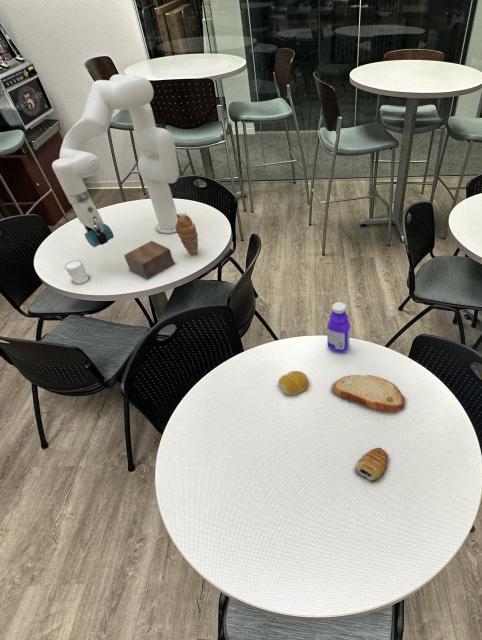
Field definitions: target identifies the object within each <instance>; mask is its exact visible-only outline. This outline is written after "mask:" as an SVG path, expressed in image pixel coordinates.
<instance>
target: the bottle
mask: <svg viewBox="0 0 482 640" xmlns="http://www.w3.org/2000/svg"><path fill="white" fill-rule="evenodd" d="M331 307H332V308H331V309H332V311H331V313H330V314H329V320H328V322H327V325H326V326H327V327H326V328H327V329H326V331H327V347H328V349H329V350H330V351H333V352H335V353H340V354H341V353H342V354H343V353H345V352H347V350H348V348H349V347H350V339H351V337H350V336H351V323H350V321H349V316H348V314H347V312H346V310H347V306H346V304H345V303H343V302H335V303H333V304H332V306H331Z"/></svg>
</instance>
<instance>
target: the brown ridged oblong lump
mask: <svg viewBox="0 0 482 640" xmlns="http://www.w3.org/2000/svg"><path fill="white" fill-rule="evenodd" d="M177 218H178V221H177V224H176V226H175V228H176V230H177V232H176V233H177V236H178V237H179V239H180V242H181V244H182V245H183V247H184V248H185V250H186V251H187V253H188V254H190V255H192V256H193V255H197V254H198V252H199V239H198V232H197V227H196V225H195V223H193V220H192V218H191V217H190V216H189V215H188V214H187V215H182V216H180V215H179V214H178V213H177Z"/></svg>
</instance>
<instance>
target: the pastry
mask: <svg viewBox="0 0 482 640" xmlns="http://www.w3.org/2000/svg"><path fill="white" fill-rule="evenodd" d="M388 457H389V456H388V453H387V452H386V450H385V449H383V448H382V447H375V448H373V449H372V448H371V449H370V450H369V451H367V452H366V453H365V454H363V455H362V457H361V458H360V459H359V460H358V462H357V464H356V466H355V467H354V468H355V471H357V473H358V474H359V475H361V476H363V477H365V478H366V479H368V480H369V481H375V480H377V479H379V478H380V477H382V475H383V472H384V471H385V469H386V466H387V462H388Z"/></svg>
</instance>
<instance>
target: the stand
mask: <svg viewBox="0 0 482 640" xmlns="http://www.w3.org/2000/svg"><path fill="white" fill-rule="evenodd" d="M123 257H124V259H125V261H126V264H127V266H128V269H129V271H131V272H132V273H135V274H136V275H139V276H140V277H142V278H144V279H146V280H149V279H151V278H153V277H154V276H156V275H158V274H159V273H161V272H163V271H165V270H166V269H168V268H170V267H172V266H173V265H175V262H174V258H173V255H172V252H171V248H168V247H166V246H164V245H162V244H159V243H158V242H156V241H153V240H150V241H148V242H146V243H143V244H142V245H141V246H138V247H137V248H135V249H133V250H131V251H129V252H127V253H125V254H124V255H123Z"/></svg>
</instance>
